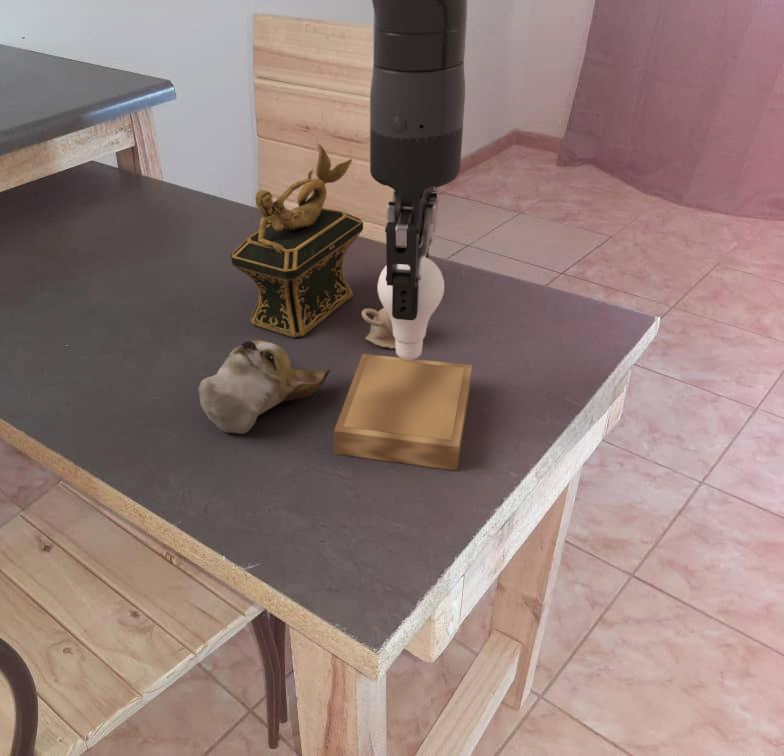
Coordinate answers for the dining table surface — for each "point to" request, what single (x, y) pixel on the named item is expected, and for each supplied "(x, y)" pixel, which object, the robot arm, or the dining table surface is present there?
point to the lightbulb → (429, 298)
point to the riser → (405, 412)
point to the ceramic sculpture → (254, 385)
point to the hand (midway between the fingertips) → (410, 299)
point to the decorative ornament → (380, 328)
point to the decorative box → (299, 255)
